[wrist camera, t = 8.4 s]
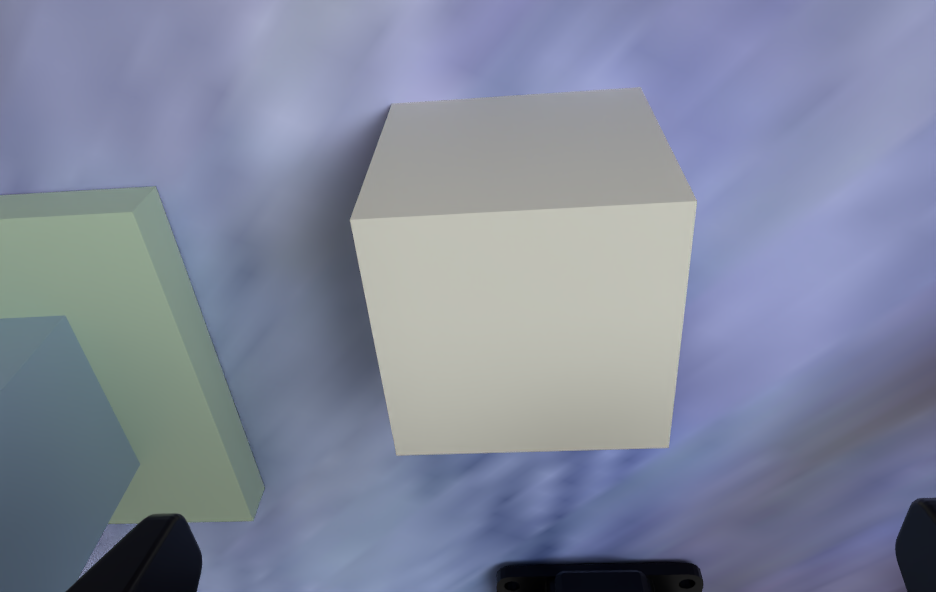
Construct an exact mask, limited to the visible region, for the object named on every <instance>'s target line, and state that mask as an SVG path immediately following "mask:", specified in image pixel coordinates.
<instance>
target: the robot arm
mask: <svg viewBox="0 0 936 592" xmlns="http://www.w3.org/2000/svg"><path fill="white" fill-rule="evenodd" d="M895 551H896V558H897V562H898V565H899V568H900V571H901V574H902V577H903V580H904V583H905V586H906V589H907V592H936V498H919V499H916V500H915V501H914V502H912V504H911V505H910V508H909V510H908V512H907V515H906V517H905V520H904V522H903V524H902V527H901V529H900V532H899V534H898V537H897V539H896V545H895ZM201 570H202V555H201V551H200V548H199V546H198V544H197V542H196V540H195V538H194V536H193V533H192V531H191V529H190V527H189V525H188V523H187V521H186V519H185V517H184V516H182V515H181V514H178V513H163V514H152V515H149V516H147V517H146V518H144V519H143V520H142V521H141V522H140V523H139V524H138V525H136V526H135V527H134V528H133V529H132V530H131V531H130V532H129V533H128V534H127V535H126V536H125V537H124V538H122V539H121V540H120V541H119V542H118V543H117V544H116V545H115V546H114V547H113V548H112V549H111V550H110V551H108V552H107V553H106V554H105V555H104V556H103V557H102V558H101V559H100V560H99V561H98V562H97V563H96V564H95V565H93V566H92V567H91V568H90V569H89V570H88V571H87V572H86V573H85V574H84V575H83V576H82V577H81V578H79V579H78V580H77V581H76V582H75V583H74V584H73V585H72V586H71V587H70V588H69V589H68V590H67V591H65V592H197V588H198V584H199V579H200V575H201ZM702 589H703V579H702V575H701V571H700V569H699V567H698V566H696V565H694V564H689V563H663V564H595V565H527V566H506V567H503V568H501V569H500V570H499V571H498V572H497V592H702Z"/></svg>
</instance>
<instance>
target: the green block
mask: <svg viewBox="0 0 936 592" xmlns="http://www.w3.org/2000/svg"><path fill="white" fill-rule="evenodd" d="M44 316H66V318H67V320H68V322H69V324H70V326H71V328H72V330H73V332H74V334H75V336H76V338H77V340H78V342H79V344H80V346H81V348H82V350H83V352H84V354H85V356H86V357H87V359H88V361H89V363H90V365H91V367H92V369H93V371H94V373H95V375H96V377H97V379H98V381H99V383H100V385H101V387H102V389H103V391H104V393H105V395H106V397H107V399H108V401H109V403H110V405H111V407H112V409H113V411H114V413H115V415H116V417H117V419H118V421H119V423H120V425H121V427H122V429H123V431H124V433H125V435H126V437H127V439H128V441H129V443H130V445H131V447H132V449H133V451H134V453H135V455H136V457H137V459H138V461H139V463H140V466H139V468H138V470H137V471H136V473H135V475H134V477H133V479H132V481H131V482H130V484H129V486H128V488H127V490H126V492H125V493H124V495H123V497H122V499H121V501H120V503H119V504H118V506H117V508H116V510H115V512H114V514H113V515H112V517H111V519H110V521H109V523H108V524H132V523H140V522H141V521H142V520H143V519H144V518H146V517H147V516H149V515H152V514H163V513H178V514H181V515H182V516H184V517H185V519H186V521H187V522H232V521H254V518H255V515H256V512H257V509H258V506H259V503H260V500H261V497H262V495H263V492H264V489H265V487H264V485H263V482H262V479H261V476H260V473H259V471H258V468H257V465H256V462H255V460H254V457H253V454H252V451H251V449H250V446H249V443H248V440H247V438H246V435H245V432H244V429H243V426H242V424H241V421H240V418H239V415H238V413H237V410H236V407H235V404H234V402H233V399H232V396H231V393H230V390H229V388H228V385H227V382H226V379H225V377H224V374H223V371H222V368H221V366H220V363H219V360H218V357H217V354H216V352H215V349H214V346H213V343H212V341H211V338H210V335H209V332H208V330H207V327H206V324H205V321H204V319H203V316H202V313H201V310H200V307H199V305H198V302H197V299H196V296H195V294H194V291H193V288H192V285H191V283H190V280H189V277H188V274H187V271H186V269H185V266H184V263H183V260H182V258H181V255H180V252H179V249H178V247H177V244H176V241H175V238H174V235H173V233H172V230H171V227H170V224H169V222H168V219H167V216H166V213H165V211H164V208H163V205H162V202H161V200H160V197H159V194H158V191H157V188H156V186H153V187H136V188H119V189H101V190H84V191H66V192H49V193H32V194H14V195H0V319H3V318H24V317H44Z"/></svg>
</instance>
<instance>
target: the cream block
mask: <svg viewBox="0 0 936 592" xmlns="http://www.w3.org/2000/svg"><path fill="white" fill-rule="evenodd" d="M696 205H697V200H696V198H695V196H694V194H693V192H692V190H691V188H690V186H689V184H688V182H687V180H686V178H685V176H684V174H683V172H682V170H681V168H680V166H679V164H678V162H677V160H676V158H675V156H674V154H673V152H672V150H671V148H670V146H669V144H668V142H667V140H666V138H665V136H664V134H663V132H662V130H661V128H660V126H659V124H658V122H657V120H656V118H655V116H654V114H653V112H652V110H651V108H650V105H649V103H648V101H647V99H646V97H645V95H644V93H643V91H642V89H641V87H637V88H622V89H607V90H592V91H577V92H562V93H547V94H531V95H516V96H501V97H486V98H471V99H456V100H441V101H425V102H410V103H395V104H392V105H391V108H390V110H389V113H388V116H387V119H386V121H385V124H384V127H383V130H382V132H381V135H380V138H379V141H378V144H377V146H376V149H375V152H374V155H373V157H372V160H371V163H370V166H369V168H368V171H367V174H366V177H365V179H364V182H363V185H362V188H361V191H360V193H359V196H358V199H357V202H356V204H355V207H354V210H353V213H352V215H351V218H350V223H351V228H352V233H353V238H354V243H355V248H356V253H357V258H358V263H359V268H360V273H361V278H362V283H363V288H364V293H365V298H366V304H367V309H368V314H369V319H370V324H371V329H372V334H373V339H374V344H375V349H376V354H377V359H378V364H379V369H380V374H381V379H382V384H383V389H384V395H385V400H386V405H387V410H388V415H389V420H390V425H391V430H392V435H393V440H394V445H395V450H396V455H433V454H468V453H504V452H540V451H576V450H612V449H647V448H669V441H670V432H671V423H672V415H673V406H674V397H675V389H676V380H677V371H678V362H679V354H680V345H681V336H682V327H683V319H684V310H685V301H686V293H687V284H688V275H689V266H690V258H691V249H692V240H693V231H694V223H695V214H696Z"/></svg>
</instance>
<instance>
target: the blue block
mask: <svg viewBox="0 0 936 592" xmlns="http://www.w3.org/2000/svg"><path fill="white" fill-rule="evenodd" d="M139 466H140V463H139V461H138V459H137V457H136V455H135V453H134V451H133V449H132V447H131V445H130V443H129V441H128V439H127V437H126V435H125V433H124V431H123V429H122V427H121V425H120V423H119V421H118V419H117V417H116V415H115V413H114V411H113V409H112V407H111V405H110V403H109V401H108V399H107V397H106V395H105V393H104V391H103V389H102V387H101V385H100V383H99V381H98V379H97V377H96V375H95V373H94V371H93V369H92V367H91V365H90V363H89V361H88V359H87V357H86V356H85V354H84V352H83V350H82V348H81V346H80V344H79V342H78V340H77V338H76V336H75V334H74V332H73V330H72V328H71V326H70V324H69V322H68V320H67V318H66V316H44V317H24V318H3V319H0V592H65V591H67V590H68V589H69V588H70V587H71V586H72V585H73V584H74V583H75V582H76V581H77V579H78V578H79V576H80V574H81V572H82V570H83V569H84V567H85V565H86V563H87V561H88V559H89V558H90V556H91V554H92V552H93V550H94V548H95V547H96V545H97V543H98V541H99V539H100V537H101V536H102V534H103V532H104V530H105V528H106V526H107V525H108V523H109V521H110V519H111V517H112V515H113V514H114V512H115V510H116V508H117V506H118V504H119V503H120V501H121V499H122V497H123V495H124V493H125V492H126V490H127V488H128V486H129V484H130V482H131V481H132V479H133V477H134V475H135V473H136V471H137V470H138V468H139Z"/></svg>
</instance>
